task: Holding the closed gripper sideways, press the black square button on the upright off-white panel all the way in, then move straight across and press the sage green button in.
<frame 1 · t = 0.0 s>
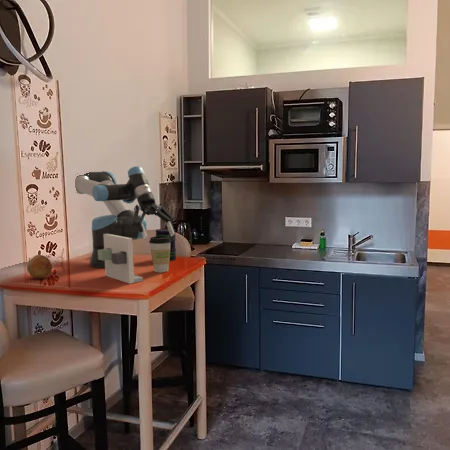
hand: (159, 236, 208), 15 cm above the table, tool tilted 35°, fingers open, 13 cm apart
coffee cup: (161, 271, 209), on the table
onion: (40, 278, 199), on the table
button panel: (119, 279, 195), on the table
sage button: (106, 254, 197), point 10 cm above the table, slide at 0.0 cm
storage jar: (166, 259, 235), on the table
black button: (121, 257, 188), point 10 cm above the table, slide at 0.0 cm
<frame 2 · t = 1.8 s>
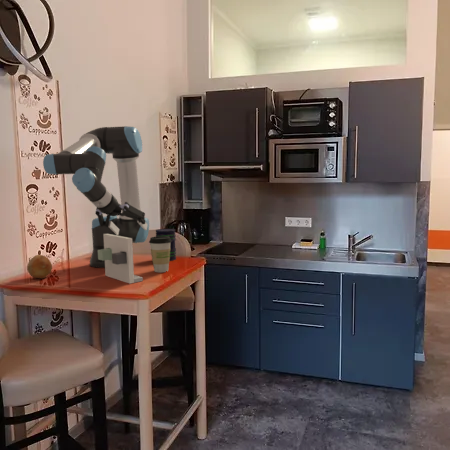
hand: (132, 229, 191), 21 cm above the table, tool tilted 50°, fingers open, 12 cm apart
nothing on the table moved.
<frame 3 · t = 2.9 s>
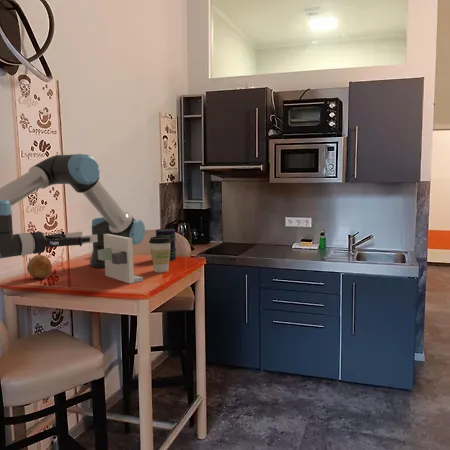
hand: (89, 236, 178), 20 cm above the table, tool horizontal, fingers open, 12 cm apart
nothing on the table moved.
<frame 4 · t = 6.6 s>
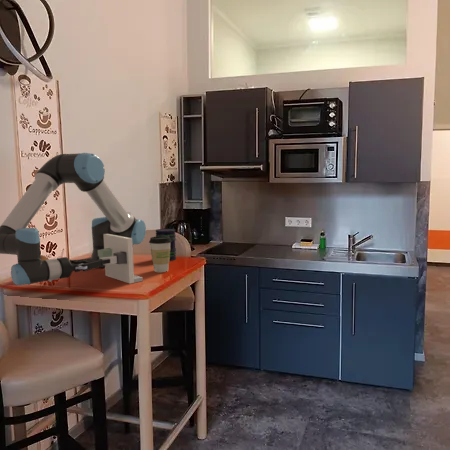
hand: (115, 259, 186), 10 cm above the table, tool horizontal, fingers closed
black button: (122, 257, 188), point 10 cm above the table, slide at 0.7 cm, touching gripper
everything else where it was.
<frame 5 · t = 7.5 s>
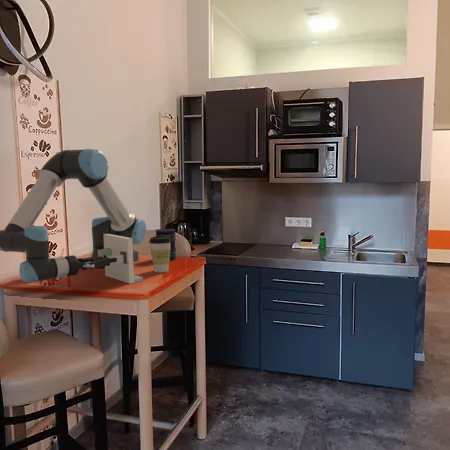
hand: (122, 258, 188), 10 cm above the table, tool horizontal, fingers closed
black button: (129, 256, 190), point 10 cm above the table, slide at 3.7 cm, touching gripper
everything else where it was.
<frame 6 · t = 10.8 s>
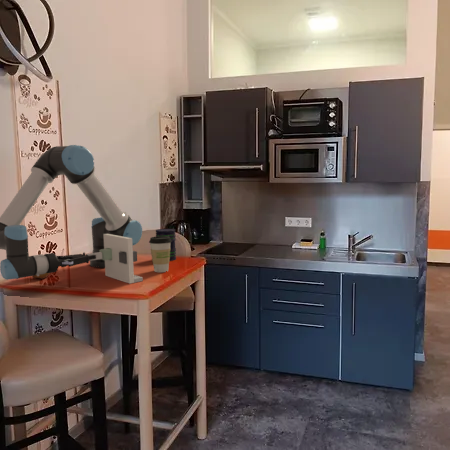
hand: (101, 255, 195), 10 cm above the table, tool horizontal, fingers closed
sage button: (108, 253, 197), point 10 cm above the table, slide at 0.8 cm, touching gripper
black button: (128, 256, 190), point 10 cm above the table, slide at 3.1 cm
everything else where it was.
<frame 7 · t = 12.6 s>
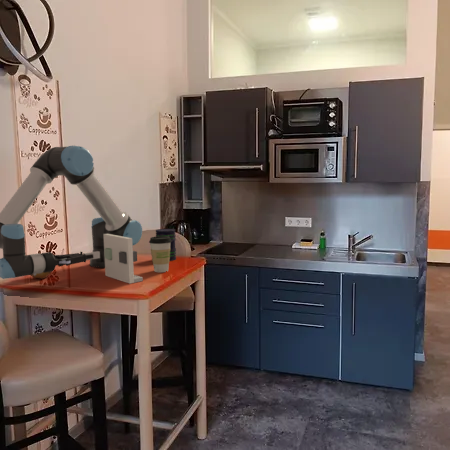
hand: (98, 254, 194), 10 cm above the table, tool horizontal, fingers closed
sage button: (113, 253, 199), point 10 cm above the table, slide at 3.1 cm
everything else where it was.
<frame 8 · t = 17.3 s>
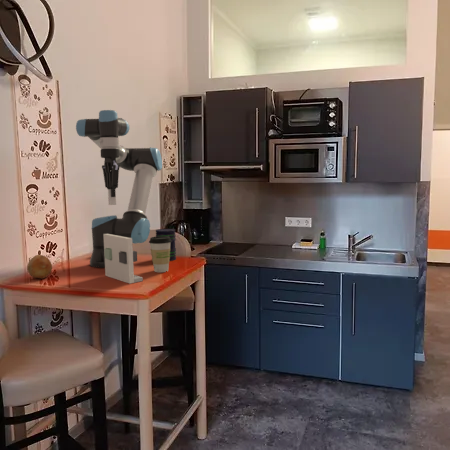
hand: (112, 204, 198), 30 cm above the table, tool pointing down, fingers closed
nothing on the table moved.
at the end: black button slide at 3.1 cm; sage button slide at 3.1 cm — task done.
